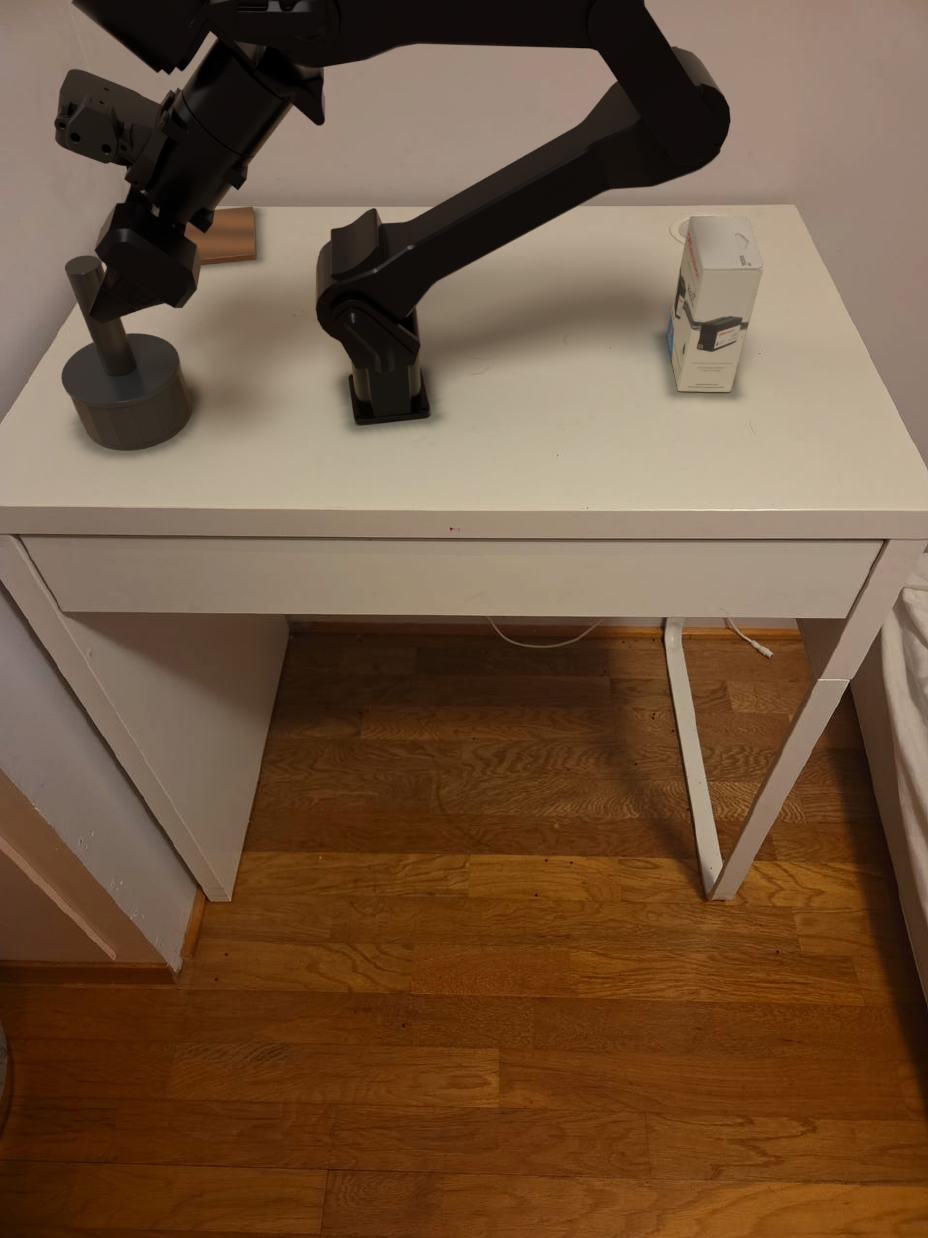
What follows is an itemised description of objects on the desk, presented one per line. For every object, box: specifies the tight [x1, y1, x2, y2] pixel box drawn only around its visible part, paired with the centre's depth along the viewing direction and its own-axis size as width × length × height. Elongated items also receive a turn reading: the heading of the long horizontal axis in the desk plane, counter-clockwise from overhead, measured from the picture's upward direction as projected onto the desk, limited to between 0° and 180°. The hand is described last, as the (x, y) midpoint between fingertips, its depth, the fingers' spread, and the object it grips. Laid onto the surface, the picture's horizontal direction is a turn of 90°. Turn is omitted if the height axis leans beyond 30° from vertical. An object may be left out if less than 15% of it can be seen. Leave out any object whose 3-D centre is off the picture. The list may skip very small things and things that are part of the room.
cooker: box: [70, 365, 193, 451], centre depth 75 cm, size 9×9×4 cm
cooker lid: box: [60, 254, 181, 408], centre depth 70 cm, size 9×9×10 cm
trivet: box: [185, 206, 257, 265], centre depth 95 cm, size 10×10×1 cm
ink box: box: [666, 215, 764, 393], centre depth 76 cm, size 8×5×12 cm, turn 178°
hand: (105, 283), depth 67 cm, fingers open, 9 cm apart
